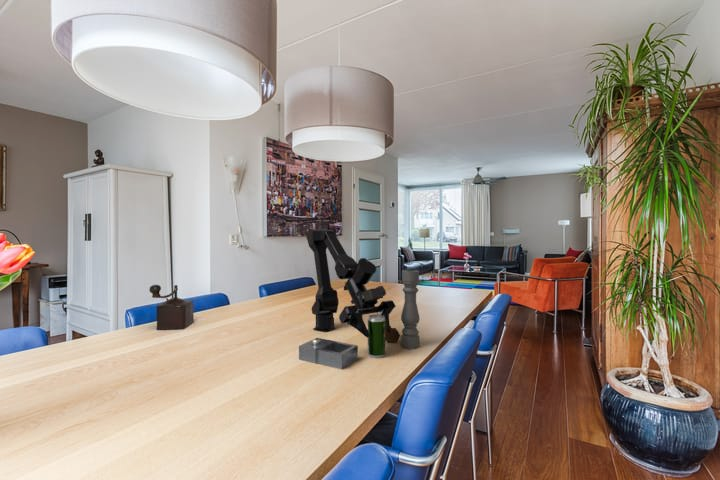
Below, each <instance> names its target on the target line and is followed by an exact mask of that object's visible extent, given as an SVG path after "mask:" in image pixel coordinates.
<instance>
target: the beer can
mask: <svg viewBox="0 0 720 480" xmlns="http://www.w3.org/2000/svg"><path fill="white" fill-rule="evenodd" d="M367 330H368V332H369V335H370V337H369V338H367V354H368V356H369V357H370V358H374V359H381V358H383V357H385V354H386V340H385V316H384V315H379V314H377V313H373V314H368V318H367Z"/></svg>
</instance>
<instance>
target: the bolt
mask: <svg viewBox="0 0 720 480" xmlns="http://www.w3.org/2000/svg"><path fill="white" fill-rule="evenodd" d="M390 331H391V332H390V333H387V332H386V330H385V343H387V344H388V345H389V344H397V343H398V342H399V340H400V339H401V334H400V332H399V331H398V329H397V328H396V327H392V326H391V325H390Z"/></svg>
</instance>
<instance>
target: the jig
mask: <svg viewBox="0 0 720 480" xmlns="http://www.w3.org/2000/svg"><path fill="white" fill-rule="evenodd" d="M358 351H359V346H358V345H357V344H352V343H348V342H341V341H336V340H333V339H332V340H331V339H325V338H321V337H320V338H319V337H316V338H313V339H311V340H309V341H307V342H305V343H303V344H299V346H298V360H299V361H305V362H310V363H313V364H317V365H322V366H326V367H329V368H334V369H337V370H343V369H345V368H346V367H347V366H349V365H351V364H352V363H353V362H355V361H356V360H358V359H359V357H358V356H359V352H358Z"/></svg>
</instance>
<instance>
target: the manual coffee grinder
mask: <svg viewBox="0 0 720 480" xmlns="http://www.w3.org/2000/svg"><path fill="white" fill-rule="evenodd" d="M173 288H174V289H173V291H172V292H171V293H169V294H166V295H161V293H160V292H161V290H162V286H161V285H158V284H152V285H151V286H150V287H149V293H151V294H152V296H151V298H152V299H153V298H154V299H155V298H156V299H165V301H163V302H161V304H158V305H156V330H157V331H175V330H176V331H179V330H185V329H187V328H188V327H190V326H191V325H192V324H193V323H194V322H195V320H194V319H195V318H194V317H195V316H194V303H195V302H194V300H184V299H183V298H180V297H178V290H179V289H178V285H177V284H174V285H173ZM172 296H174V297H172ZM169 297H171V298H170V299H169Z"/></svg>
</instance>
